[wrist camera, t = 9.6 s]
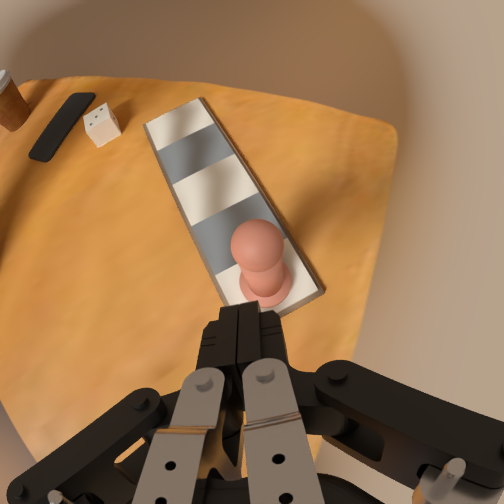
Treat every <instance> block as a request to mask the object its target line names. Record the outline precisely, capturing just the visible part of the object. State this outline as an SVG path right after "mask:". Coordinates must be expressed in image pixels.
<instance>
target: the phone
mask: <svg viewBox="0 0 504 504" xmlns="http://www.w3.org/2000/svg"><path fill="white" fill-rule="evenodd" d="M95 97H96V96H95V94H94V93H74V94H72V95H71V96H70V97H69V98H68V99H67V100H66V102H65V103H64V104H63V105H62V107H61V108H60V109H59V111H58V112H57V113H56V114H55V116H54V117H53V119H52V120H51V121H50V123H49V124H48V125H47V127H46V128H45V130H44V131H43V132H42V134H41V135H40V137H39V138H38V140H37V141H36V143H35V144H34V146H33V147H32V149H31V151H30V152H29V155H28V156H29V158H30V159H34V160H38V161H41V162H48V161H49V160H51V158H52V157H53V156H54V154H55V152H56V151H57V149H58V148H59V146H60V145H61V143H62V142H63V141H64V139H65V138H66V136H67V135H68V133H69V132H70V131H71V129H72V128H73V126H74V125H75V124H76V122H77V121H78V120H79V118H80V117H81V116H82V114H83V113H84V112H85V110H86V109H87V108H88V106H89V105H90V104H91V103H92V101H93V100H94V99H95Z"/></svg>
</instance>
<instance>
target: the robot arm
mask: <svg viewBox="0 0 504 504" xmlns="http://www.w3.org/2000/svg"><path fill="white" fill-rule="evenodd" d="M243 411H246V421H247V425H244V423H243ZM306 434H312V435H321V436H322V437H323V439H324V440H326V441H327V442H329V443H330V444H332V445H333V446H335V447H337V448H338V449H340V450H342V451H344V452H345V453H347V454H348V455H350V456H352V457H354V458H355V459H357V460H359V461H360V462H362V463H364V464H366V465H367V466H369V467H371V468H373V469H375V470H377V471H378V472H380V473H382V474H384V475H386V476H388V477H390V478H391V479H393V480H395V481H397V482H399V483H401V484H403V485H405V486H407V487H409V488H411V489H413V490H414V492H413V495H412V504H497V502H498V500H499V498H500V496H501V494H502V492H503V490H504V422H502V421H499V420H496V419H493V418H490V417H488V416H484V415H482V414H479V413H476V412H474V411H471V410H468V409H465V408H463V407H460V406H457V405H454V404H452V403H449V402H447V401H444V400H441V399H439V398H436V397H434V396H431V395H429V394H426V393H424V392H421V391H419V390H416V389H414V388H411V387H409V386H406V385H404V384H402V383H399V382H397V381H394V380H392V379H390V378H387V377H385V376H383V375H380V374H378V373H376V372H373V371H371V370H369V369H366V368H364V367H362V366H360V365H357V364H355V363H353V362H350V361H347V360H334V361H330V362H328V363H325V364H324V365H322V366H321V367H319V368H318V369H317V371H316V372H302V371H298V370H296V369H294V368H292V367H291V366H290V365H289V361H288V356H287V349H286V344H285V339H284V334H283V329H282V325H281V320H280V316H279V315H278V314H277V313H276V312H275V311H274V310H270V311H264V312H261V309H260V305H259V302H258V300H256V301H251V302H245V303H240V305H239V304H235V305H230V306H225V307H221V308H220V313H219V320H216V321H210V322H209V323H208V325H207V326H206V327H205V329H204V330H203V334H202V340H201V344H200V349H199V354H198V360H197V365H196V370H195V371H194V372H192V373H191V374H189V375H188V376H187V377H186V378H185V380H184V382H183V385H182V388H181V389H180V390H178V391H176V392H173V393H170V394H167V395H164V396H160V395H159V393H158V392H157V391H156V390H154V389H152V388H141V389H138V390H135V391H133V392H132V393H130V394H129V395H127V396H126V397H125V398H124V399H122V400H121V401H120V402H118V403H117V404H116V405H115V406H113V407H112V408H111V409H109V410H108V411H107V412H105V413H104V414H103V415H102V416H100V417H99V418H98V419H96V420H95V421H94V422H92V423H91V424H90V425H88V426H87V427H86V428H84V429H83V430H82V431H80V432H79V433H78V434H76V435H75V436H74V437H72V438H71V439H70V440H68V441H67V442H66V443H64V444H63V445H61V446H60V447H59V448H57V449H56V450H55V451H53V452H52V453H50V454H49V455H48V456H46V457H45V458H44V459H42V460H41V461H39V462H38V463H37V464H35V465H34V466H32V467H31V468H30V469H28V470H27V471H25V472H24V473H22V474H21V475H20V476H18V477H17V478H15V479H14V480H13V481H12V482H11V483H10V485H9V486H8V489H7V495H6V496H7V501H8V503H9V504H385V503H383V502H381V501H380V500H378V499H376V498H374V497H373V496H371V495H370V494H368V493H367V492H365V491H363V490H362V489H360V488H359V487H357V486H356V485H354V484H352V483H351V482H348V481H346V480H344V479H342V478H339V477H336V476H332V475H328V474H322V473H316V469H315V465H314V462H313V458H312V454H311V450H310V447H309V443H308V439H307V436H306ZM141 437H142V438H143V439H144V441H145V443H144V444H143V445H141V446H140V447H139V448H138V449H137V450H135V451H134V452H133V453H132V454H130V455H129V456H128V457H127V458H126V459H124V460H123V461H122V462H120V463H114V461H115V459H116V458H117V457H118V456H119V455H121V454H122V453H123V452H124V451H126V450H127V449H128V448H129V447H130V446H132V445H133V444H134V443H135V442H137V441H138V440H139V439H140V438H141ZM244 444H245V454H246V465H247V474H248V477H245V478H242V475H241V467H242V457H243V447H244Z"/></svg>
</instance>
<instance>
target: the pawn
mask: <svg viewBox="0 0 504 504" xmlns="http://www.w3.org/2000/svg"><path fill="white" fill-rule="evenodd" d="M283 251H284V240H283V236H282V234H281V232H280V231H279V229H278V228H277V227H276V226H275V225H274V224H273V223H271V222H269V221H267V220H264V219H251V220H248V221H245V222H244V223H242V224H241V225H239V226H238V227H237V229H236V230H235V232H234V233H233V235H232V238H231V252H232V255H233V258H234V259H235V261H236V262H237V263H238V265H239V267H240V269H241V273H240V278H239V285H240V289H241V291H242V293H243V295H244V297H245V298H246V299H247V300H248V301H249V302H251V301H256V300H258V302H259V305H260V307H261V308H270V307H274V306H276V305H278V304H280V303H281V302H283V301H284V300H285V299H286V297H287V296H288V294H289V292H290V288H291V274H290V271H289V269H288V267H287V266H286V264H285V263H284V262H283Z"/></svg>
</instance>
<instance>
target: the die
mask: <svg viewBox="0 0 504 504" xmlns="http://www.w3.org/2000/svg"><path fill="white" fill-rule="evenodd" d="M83 118H84V124H85V130H86V133H87V134H88V136H89V137H90V138H91V139H92V141H93V142H94V143H95V145H96V146H97V147H98V148H99V147H101V146H103V145H104V144H106V143H108V142H109V141H111V140H113V139H114V138H116V137H118V136H120V135H121V131H120V128H119V124H118V121H117V118H116V117H115V115H114V114H113V112H112V110H111V109H110V107H109V106H108V104H107V103H105V104H103V105H101V106H99V107H98V108H96V109H94V110H93V111H91V112H90V113H88V114H86V115H85V116H83Z"/></svg>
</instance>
